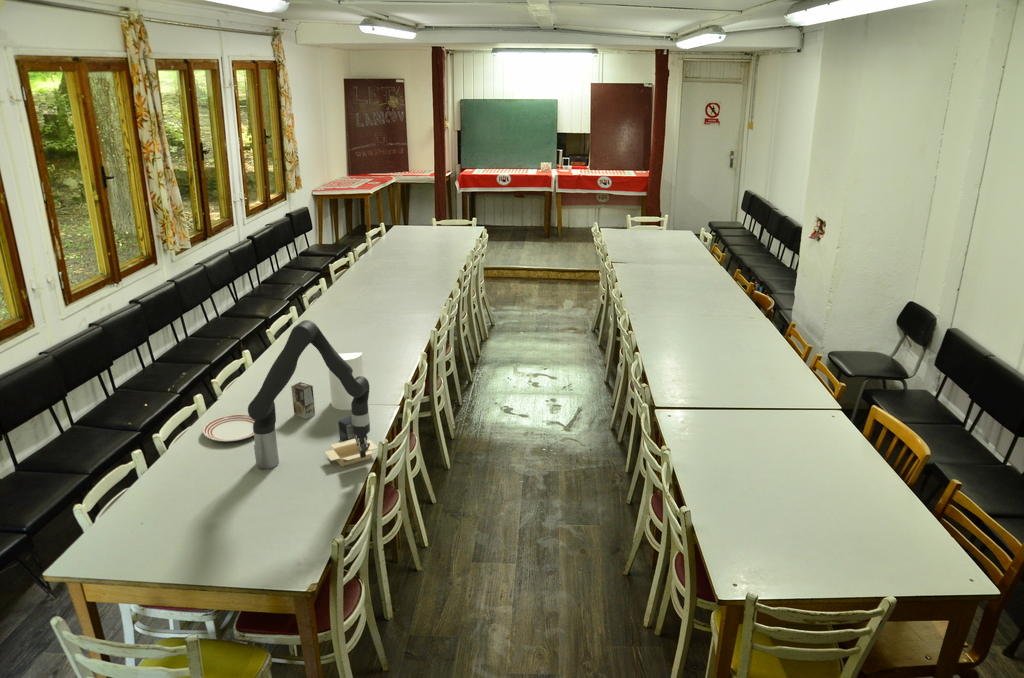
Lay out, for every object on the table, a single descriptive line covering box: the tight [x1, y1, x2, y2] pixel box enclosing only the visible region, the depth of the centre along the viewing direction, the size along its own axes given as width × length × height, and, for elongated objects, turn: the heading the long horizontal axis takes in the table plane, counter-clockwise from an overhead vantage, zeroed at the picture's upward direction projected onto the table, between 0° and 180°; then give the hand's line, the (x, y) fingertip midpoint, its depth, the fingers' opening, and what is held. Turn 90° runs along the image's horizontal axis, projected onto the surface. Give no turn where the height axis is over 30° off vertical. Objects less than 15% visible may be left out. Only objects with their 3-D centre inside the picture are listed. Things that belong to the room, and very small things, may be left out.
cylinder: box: [328, 352, 365, 411], centre depth 394 cm, size 17×17×28 cm
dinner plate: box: [202, 413, 255, 443], centre depth 367 cm, size 27×27×3 cm
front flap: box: [342, 450, 377, 460], centre depth 337 cm, size 13×1×9 cm
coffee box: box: [290, 381, 316, 420], centre depth 383 cm, size 9×6×16 cm
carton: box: [323, 439, 379, 468], centre depth 348 cm, size 22×14×4 cm, turn 122°
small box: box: [337, 414, 355, 442], centre depth 363 cm, size 11×6×10 cm, turn 141°
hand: (363, 456), depth 332 cm, fingers closed
